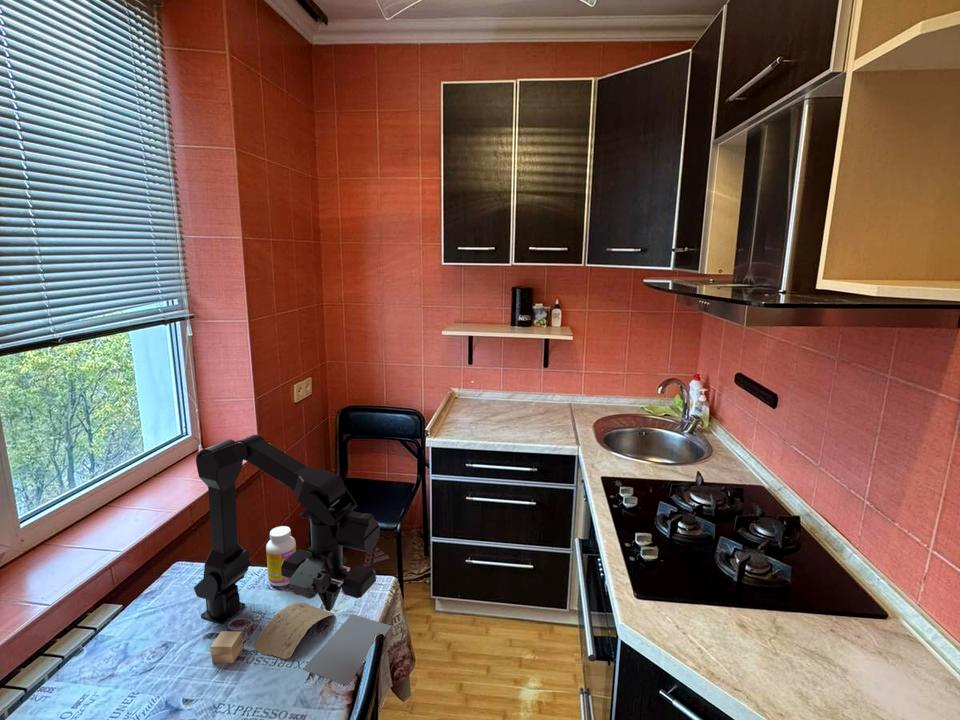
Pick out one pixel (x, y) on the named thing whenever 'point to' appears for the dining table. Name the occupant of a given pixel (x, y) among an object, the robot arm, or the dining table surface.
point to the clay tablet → (288, 629)
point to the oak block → (226, 647)
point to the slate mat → (346, 649)
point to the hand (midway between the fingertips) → (329, 609)
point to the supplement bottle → (279, 554)
